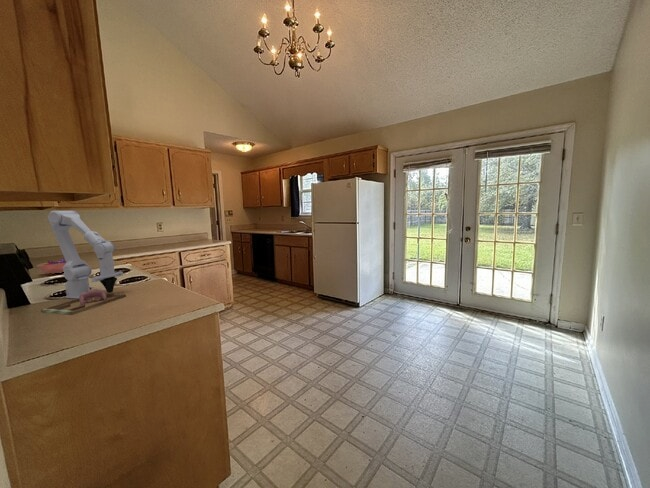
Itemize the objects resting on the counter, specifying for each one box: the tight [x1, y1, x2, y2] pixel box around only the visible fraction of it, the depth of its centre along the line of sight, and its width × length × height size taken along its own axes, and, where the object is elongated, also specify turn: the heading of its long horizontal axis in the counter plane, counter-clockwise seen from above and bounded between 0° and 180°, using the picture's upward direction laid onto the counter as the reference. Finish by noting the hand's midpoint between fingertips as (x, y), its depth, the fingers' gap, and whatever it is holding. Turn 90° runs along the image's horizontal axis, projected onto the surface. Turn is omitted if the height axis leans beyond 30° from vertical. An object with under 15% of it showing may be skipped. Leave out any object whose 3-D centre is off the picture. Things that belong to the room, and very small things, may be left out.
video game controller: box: [78, 288, 108, 306], centre depth 131 cm, size 10×5×7 cm, turn 135°
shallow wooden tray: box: [40, 292, 127, 316], centre depth 128 cm, size 18×24×1 cm
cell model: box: [36, 257, 66, 275], centre depth 197 cm, size 17×20×11 cm
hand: (110, 292), depth 139 cm, fingers closed
